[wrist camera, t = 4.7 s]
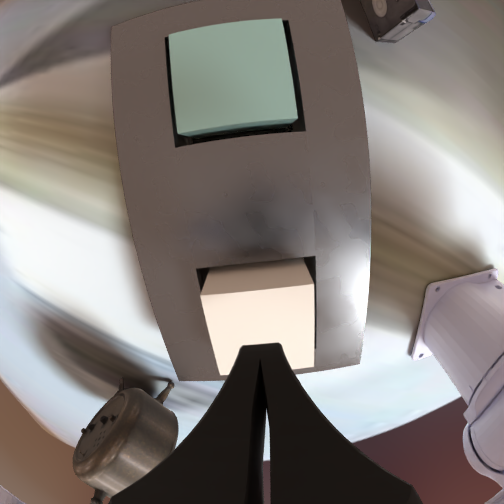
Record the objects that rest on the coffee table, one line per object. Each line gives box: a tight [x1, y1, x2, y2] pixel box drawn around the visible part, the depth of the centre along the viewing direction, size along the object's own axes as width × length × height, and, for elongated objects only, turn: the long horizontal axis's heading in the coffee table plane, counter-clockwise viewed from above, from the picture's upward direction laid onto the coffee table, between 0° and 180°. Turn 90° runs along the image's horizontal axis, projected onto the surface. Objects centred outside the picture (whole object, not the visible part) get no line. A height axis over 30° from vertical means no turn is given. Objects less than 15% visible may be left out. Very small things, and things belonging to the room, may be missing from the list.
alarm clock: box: [73, 378, 178, 504], centre depth 15 cm, size 11×5×16 cm, turn 132°
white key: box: [200, 257, 314, 375], centre depth 15 cm, size 5×5×4 cm
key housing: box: [111, 0, 371, 381], centre depth 14 cm, size 12×22×4 cm, turn 7°
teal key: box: [169, 18, 298, 139], centre depth 11 cm, size 5×5×4 cm
